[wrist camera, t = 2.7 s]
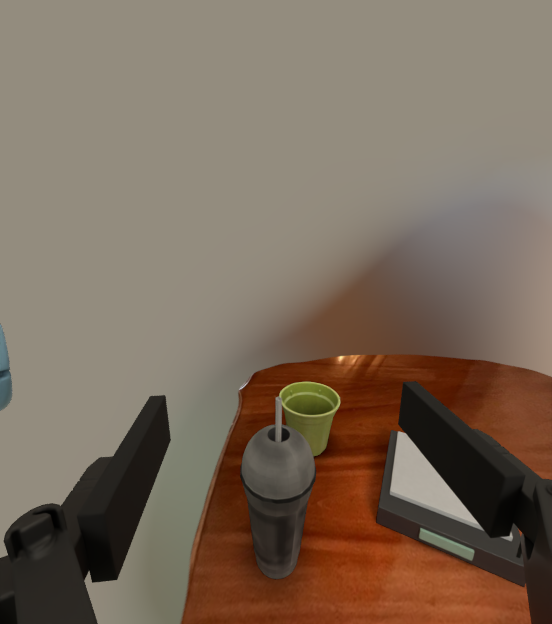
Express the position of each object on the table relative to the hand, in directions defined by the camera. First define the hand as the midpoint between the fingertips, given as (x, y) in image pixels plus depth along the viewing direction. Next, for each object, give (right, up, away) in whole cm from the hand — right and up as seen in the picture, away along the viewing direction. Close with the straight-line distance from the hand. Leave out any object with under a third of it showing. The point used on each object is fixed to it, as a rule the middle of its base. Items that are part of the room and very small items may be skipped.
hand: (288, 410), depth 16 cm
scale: (+21, -19, +22) cm, 36 cm away
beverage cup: (-1, -21, +15) cm, 26 cm away
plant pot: (+4, -16, +31) cm, 35 cm away
